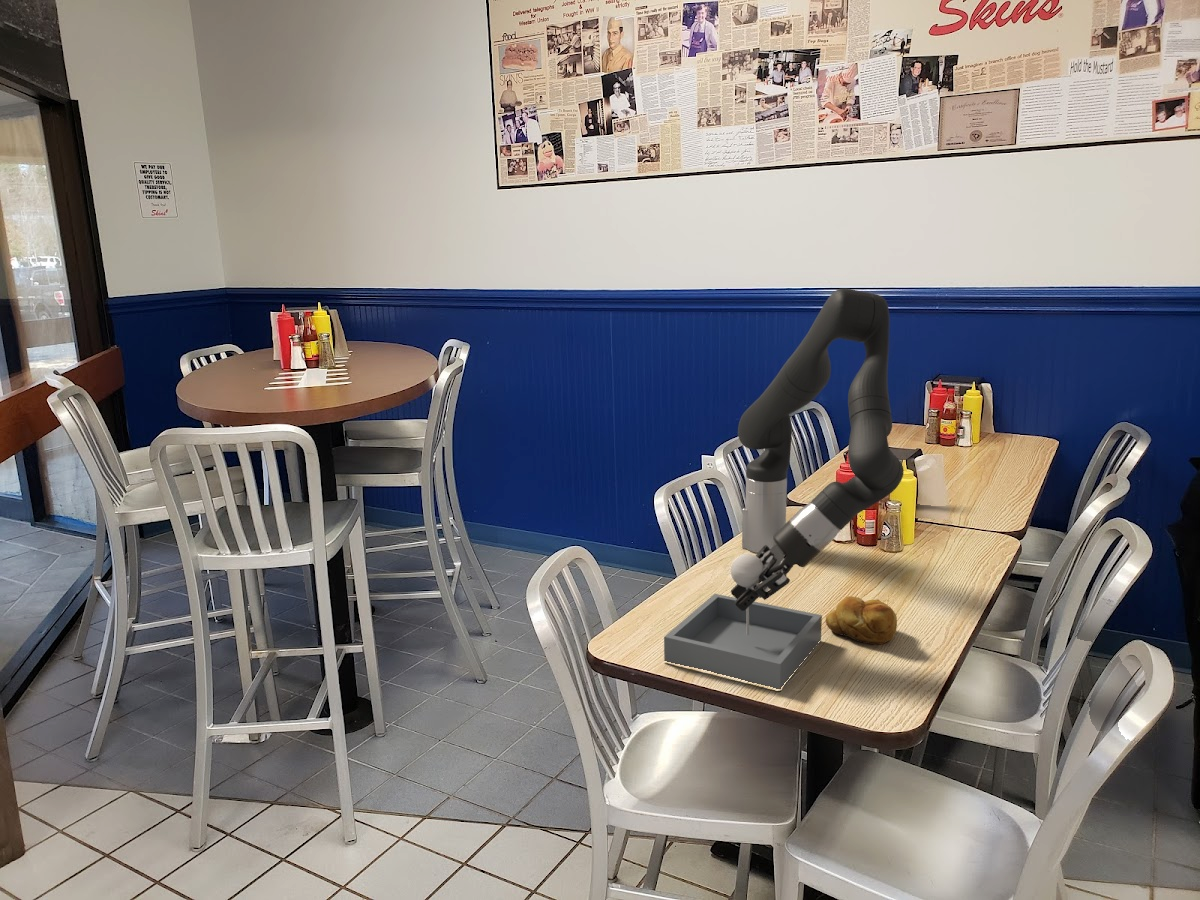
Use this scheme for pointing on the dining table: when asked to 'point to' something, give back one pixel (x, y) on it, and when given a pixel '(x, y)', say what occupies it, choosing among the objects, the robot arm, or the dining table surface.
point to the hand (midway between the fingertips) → (736, 601)
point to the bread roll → (863, 620)
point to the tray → (744, 640)
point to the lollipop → (746, 574)
